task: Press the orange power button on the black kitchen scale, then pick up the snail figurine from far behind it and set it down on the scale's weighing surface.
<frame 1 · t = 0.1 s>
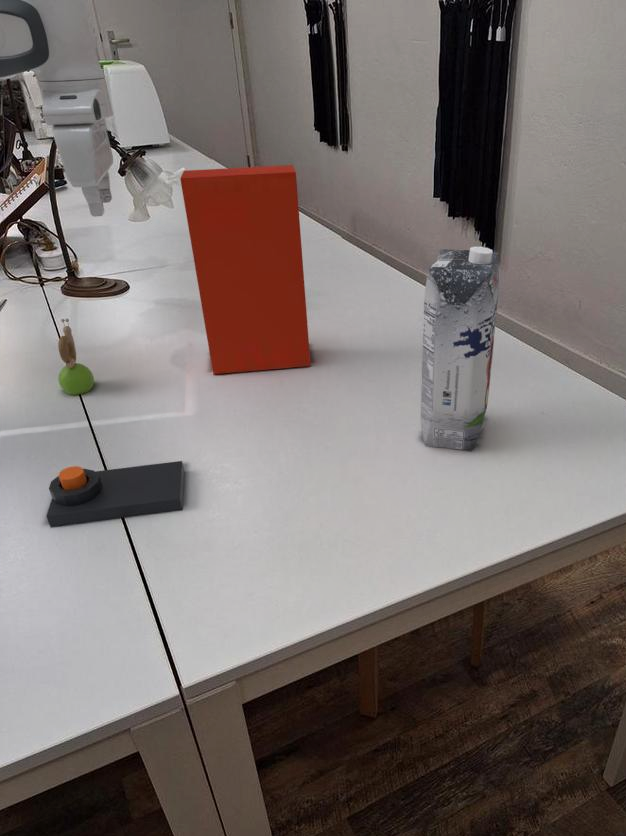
hand: (102, 208, 99), 28 cm above the table, tool pointing down, fingers open, 8 cm apart
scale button: (73, 478, 82), point 4 cm above the table, slide at 0.1 cm
scale: (121, 498, 85), on the table
snail figurine: (81, 394, 111), on the table
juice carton: (453, 435, 97), on the table
file binder: (262, 363, 120), on the table
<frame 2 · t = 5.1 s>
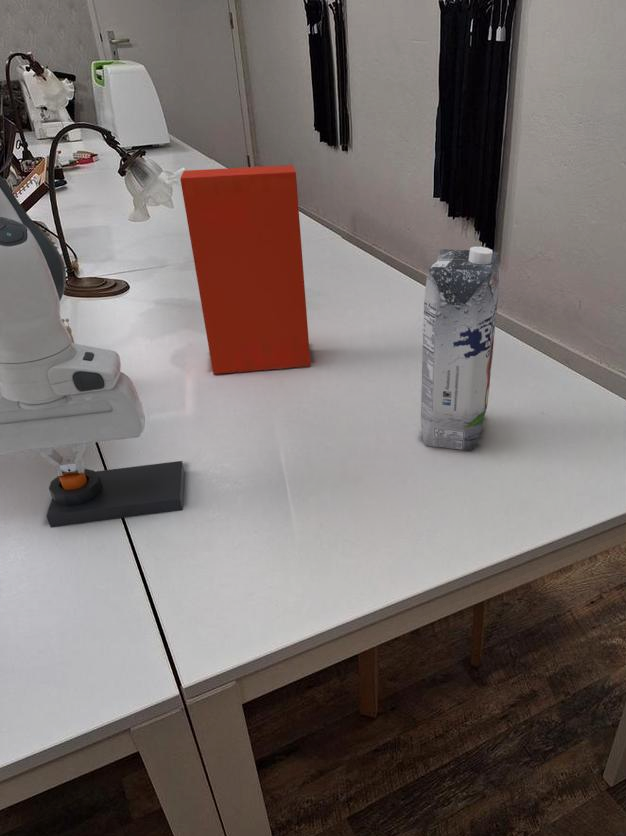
hand: (72, 472, 82), 5 cm above the table, tool pointing down, fingers closed, pressing on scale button
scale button: (73, 478, 82), point 4 cm above the table, slide at 0.1 cm, touching gripper
everything else where it was.
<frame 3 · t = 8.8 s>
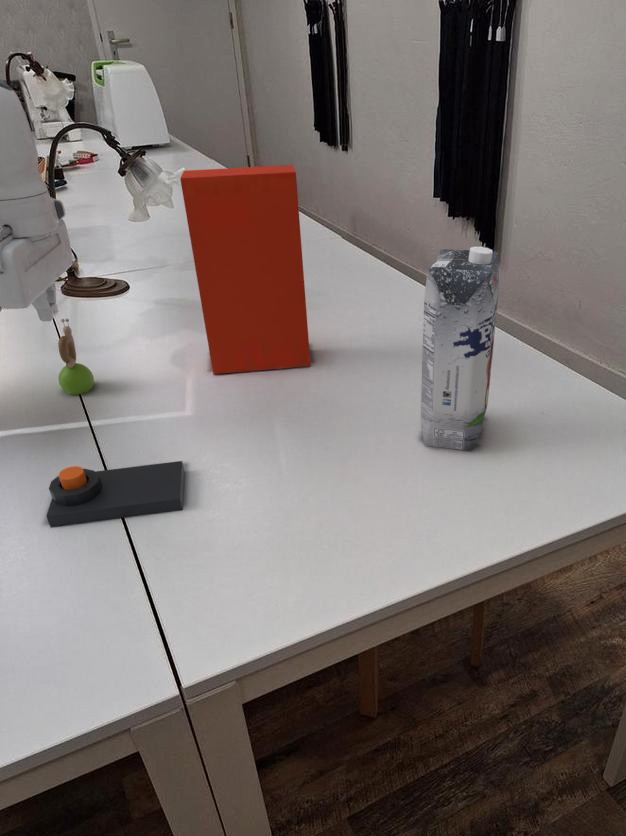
hand: (49, 317, 94), 16 cm above the table, tool pointing down, fingers closed
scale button: (73, 478, 82), point 4 cm above the table, slide at 0.1 cm
everything else where it was.
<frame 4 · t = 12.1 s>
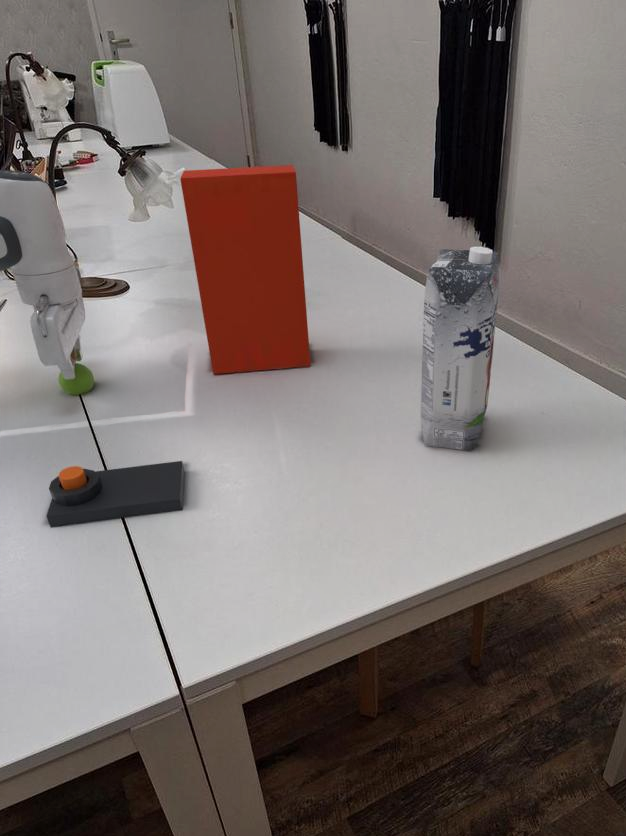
hand: (74, 368, 108), 5 cm above the table, tool pointing down, fingers closed on snail figurine, 5 cm apart
snail figurine: (81, 394, 111), on the table, touching gripper
everything else where it was.
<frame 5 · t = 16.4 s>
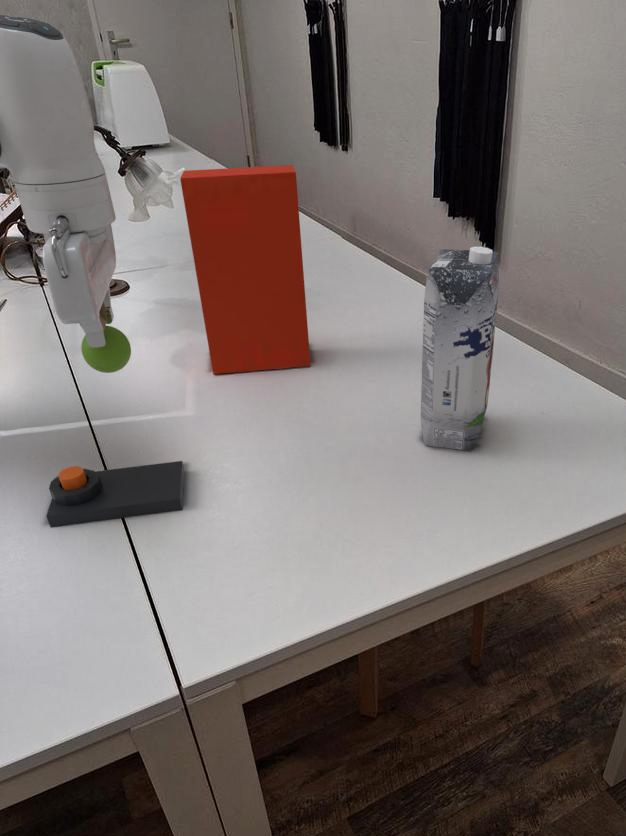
hand: (102, 333, 76), 21 cm above the table, tool pointing down, fingers closed on snail figurine, 5 cm apart
snail figurine: (113, 370, 79), point 17 cm above the table, touching gripper
everything else where it was.
when the fingers open (6 cm above the table, at t = 20.7 s): snail figurine stays where it is, resting on scale.
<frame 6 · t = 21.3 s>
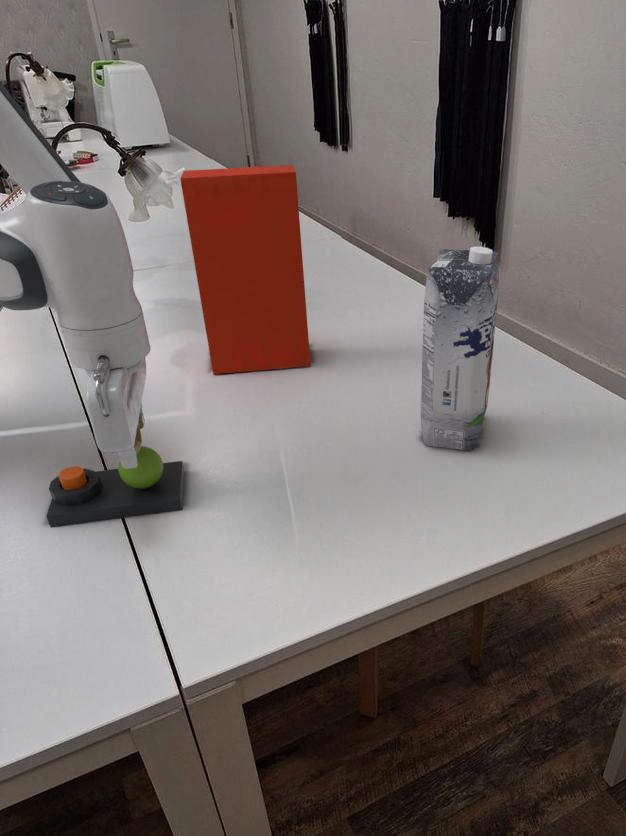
hand: (134, 445, 81), 8 cm above the table, tool pointing down, fingers open, 8 cm apart
snail figurine: (146, 483, 85), point 2 cm above the table, touching scale
everything else where it was.
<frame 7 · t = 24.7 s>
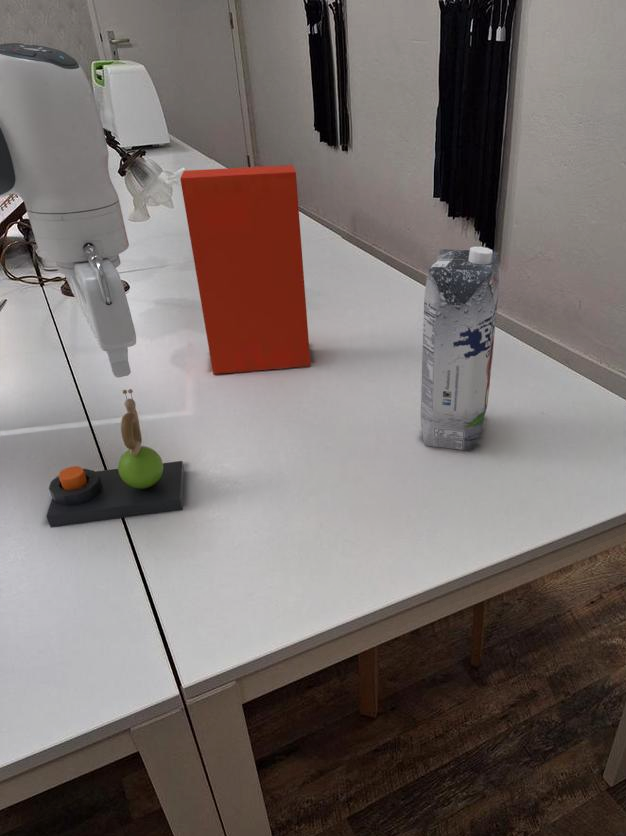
hand: (113, 358, 75), 19 cm above the table, tool pointing down, fingers open, 8 cm apart
nothing on the table moved.
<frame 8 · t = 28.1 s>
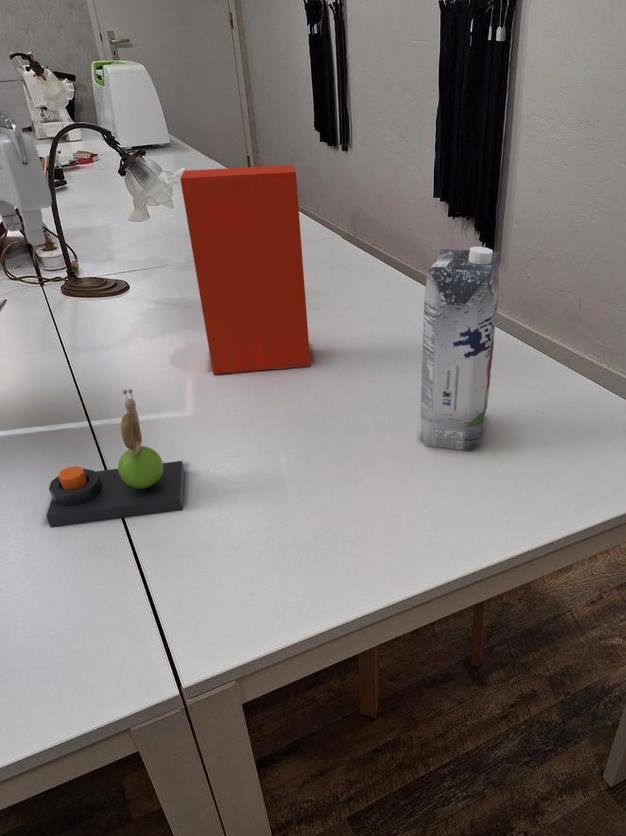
hand: (25, 236, 82), 29 cm above the table, tool pointing down, fingers open, 8 cm apart
nothing on the table moved.
at the end: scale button pushed in 0.9 cm at the most during the clip, back to where it started at the end; snail figurine inside the target area on the scale (3.0 cm from its centre), point 1.7 cm above the scale's base; snail figurine touching scale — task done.
